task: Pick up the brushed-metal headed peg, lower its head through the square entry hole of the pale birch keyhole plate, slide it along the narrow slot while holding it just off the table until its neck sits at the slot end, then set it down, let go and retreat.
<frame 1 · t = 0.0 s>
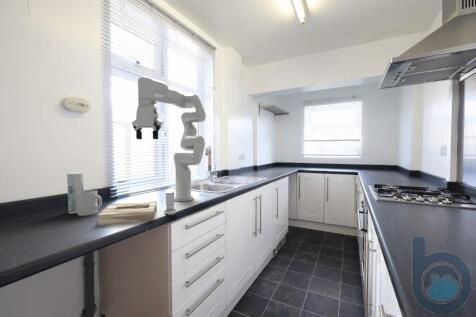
hand: (147, 139, 106), 37 cm above the countertop, tool pointing down, fingers open, 9 cm apart
tall grey container: (76, 212, 110), on the countertop
peg: (170, 213, 109), on the countertop
mug: (90, 213, 108), on the countertop
keyhole plate: (130, 216, 103), on the countertop
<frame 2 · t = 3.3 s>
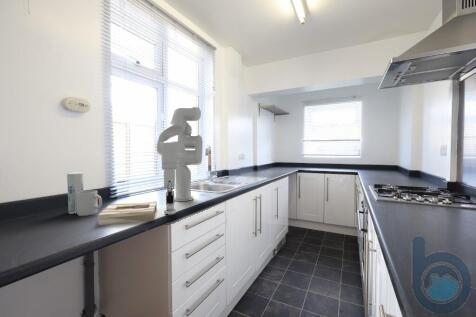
hand: (170, 202, 108), 6 cm above the countertop, tool pointing down, fingers closed on peg, 4 cm apart
peg: (170, 213, 109), on the countertop, touching gripper
everything else where it was.
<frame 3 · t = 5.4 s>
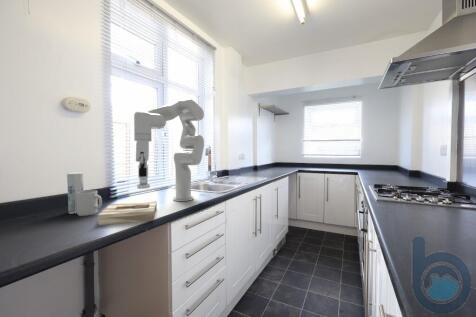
hand: (143, 175, 104), 20 cm above the countertop, tool pointing down, fingers closed on peg, 4 cm apart
peg: (143, 187, 104), point 14 cm above the countertop, touching gripper
everything else where it was.
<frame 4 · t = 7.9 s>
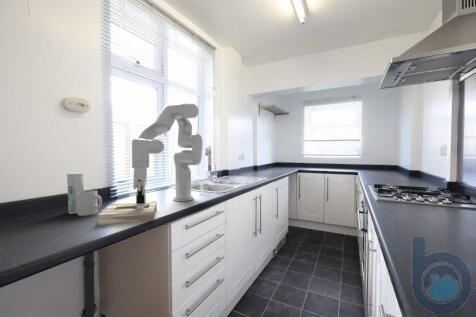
hand: (141, 201, 104), 7 cm above the countertop, tool pointing down, fingers closed on peg, 4 cm apart
peg: (141, 213, 105), point 1 cm above the countertop, touching gripper
everything else where it was.
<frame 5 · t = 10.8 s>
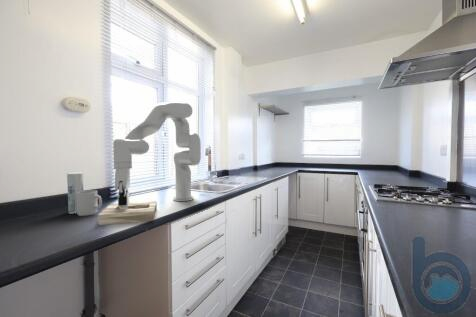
hand: (123, 203, 102), 7 cm above the countertop, tool pointing down, fingers closed on peg, 4 cm apart
peg: (123, 215, 102), point 1 cm above the countertop, touching gripper
everything else where it was.
when the fingers open (6 cm above the countertop, at t = 12.6 s): peg stays where it is, on the countertop.
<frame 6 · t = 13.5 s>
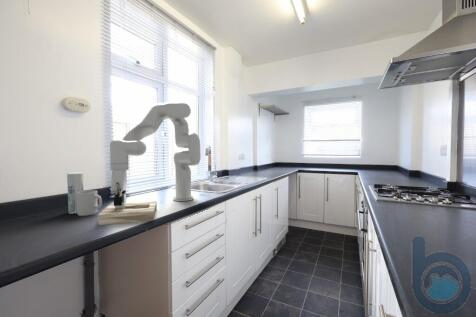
hand: (120, 202, 102), 7 cm above the countertop, tool pointing down, fingers open, 9 cm apart
peg: (120, 217, 102), on the countertop
everything else where it was.
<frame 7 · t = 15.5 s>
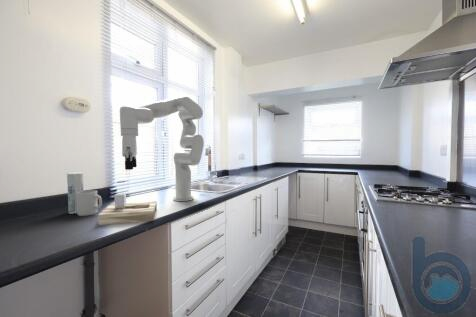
hand: (131, 168, 105), 23 cm above the countertop, tool pointing down, fingers open, 9 cm apart
nothing on the countertop moved.
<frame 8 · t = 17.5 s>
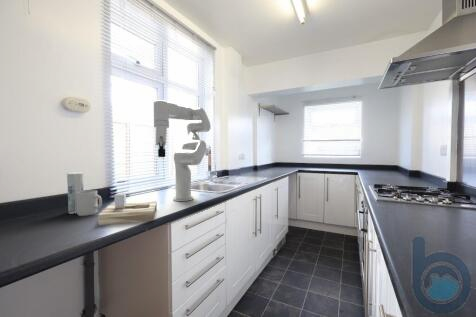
hand: (161, 156, 115), 28 cm above the countertop, tool pointing down, fingers open, 9 cm apart
nothing on the countertop moved.
at the end: peg 0.1 cm from the target spot on the keyhole plate, point 0.0 cm above the keyhole plate's base; peg tilted 0°; the gripper is holding nothing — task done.
